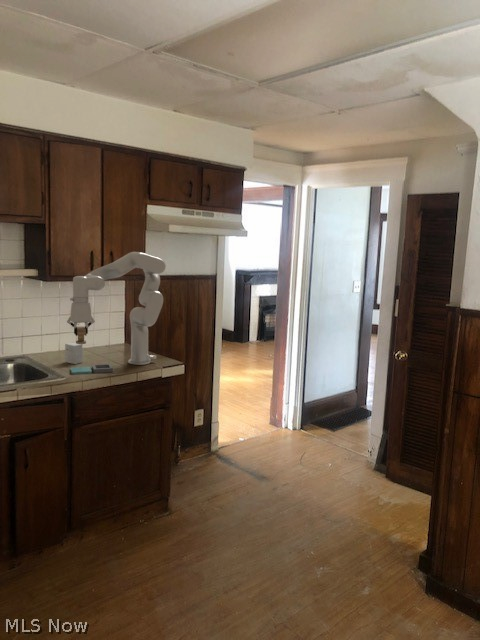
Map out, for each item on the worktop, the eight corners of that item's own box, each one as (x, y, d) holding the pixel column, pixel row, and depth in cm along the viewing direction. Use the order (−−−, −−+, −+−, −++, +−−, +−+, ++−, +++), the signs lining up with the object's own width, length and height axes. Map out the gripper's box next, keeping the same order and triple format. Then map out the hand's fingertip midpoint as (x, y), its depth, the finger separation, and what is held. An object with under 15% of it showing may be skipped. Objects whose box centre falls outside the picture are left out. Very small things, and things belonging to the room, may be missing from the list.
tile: (89, 368, 284) (89, 366, 284) (91, 373, 275) (91, 371, 275) (70, 369, 281) (70, 367, 280) (71, 374, 271) (71, 372, 271)
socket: (110, 367, 288) (110, 363, 288) (113, 371, 279) (113, 368, 279) (91, 368, 285) (91, 364, 284) (93, 373, 275) (93, 369, 275)
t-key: (86, 344, 272) (86, 329, 271) (76, 345, 270) (76, 329, 269) (85, 341, 280) (85, 326, 279) (75, 341, 279) (75, 326, 277)
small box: (83, 362, 296) (82, 344, 295) (75, 364, 292) (75, 345, 290) (72, 360, 300) (72, 342, 299) (65, 362, 296) (64, 343, 294)
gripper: (64, 301, 265) (64, 337, 268) (98, 301, 272) (98, 336, 274) (63, 299, 272) (63, 334, 275) (96, 299, 279) (96, 333, 281)
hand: (80, 334), depth 275 cm, fingers closed on t-key, 4 cm apart
